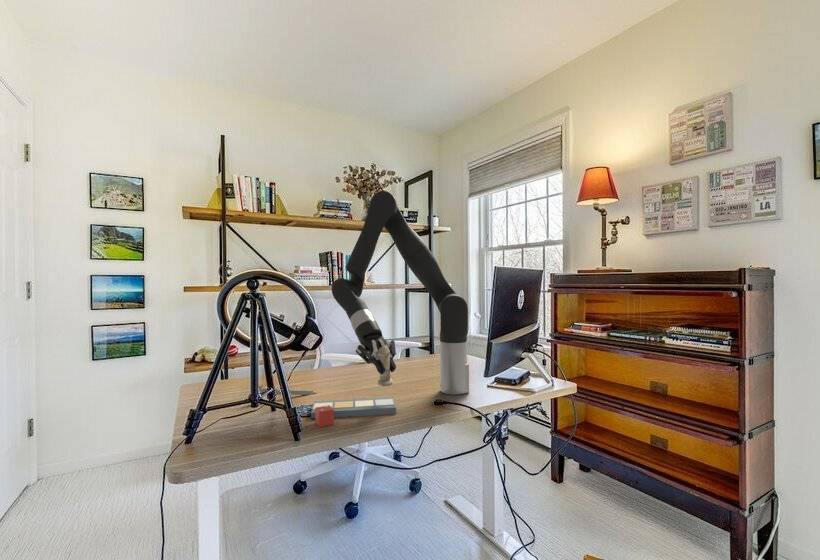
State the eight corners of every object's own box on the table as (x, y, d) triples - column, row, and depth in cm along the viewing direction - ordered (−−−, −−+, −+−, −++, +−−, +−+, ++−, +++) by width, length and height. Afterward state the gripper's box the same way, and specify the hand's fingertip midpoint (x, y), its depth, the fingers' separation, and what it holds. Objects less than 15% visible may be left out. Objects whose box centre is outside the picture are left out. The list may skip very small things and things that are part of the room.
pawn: (391, 381, 123) (390, 344, 123) (393, 385, 118) (391, 347, 118) (377, 382, 122) (376, 345, 122) (378, 386, 118) (377, 348, 118)
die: (329, 419, 112) (329, 404, 112) (334, 424, 108) (333, 409, 108) (315, 422, 110) (315, 407, 110) (319, 427, 106) (319, 411, 106)
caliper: (254, 405, 126) (254, 385, 126) (253, 404, 127) (253, 384, 126) (316, 394, 137) (316, 375, 137) (315, 393, 138) (315, 375, 138)
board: (392, 403, 126) (392, 396, 126) (396, 413, 116) (396, 406, 116) (314, 407, 122) (314, 400, 122) (311, 419, 112) (310, 411, 112)
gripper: (350, 321, 122) (373, 368, 112) (388, 317, 130) (412, 360, 121) (342, 337, 126) (363, 383, 116) (379, 332, 134) (402, 374, 125)
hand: (388, 371), depth 119 cm, fingers closed on pawn, 3 cm apart
